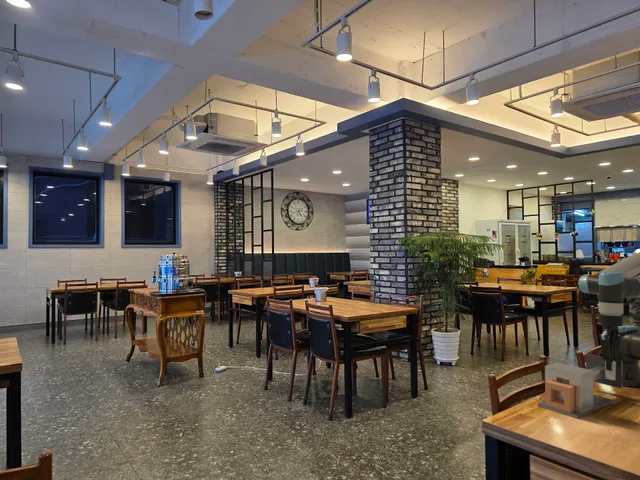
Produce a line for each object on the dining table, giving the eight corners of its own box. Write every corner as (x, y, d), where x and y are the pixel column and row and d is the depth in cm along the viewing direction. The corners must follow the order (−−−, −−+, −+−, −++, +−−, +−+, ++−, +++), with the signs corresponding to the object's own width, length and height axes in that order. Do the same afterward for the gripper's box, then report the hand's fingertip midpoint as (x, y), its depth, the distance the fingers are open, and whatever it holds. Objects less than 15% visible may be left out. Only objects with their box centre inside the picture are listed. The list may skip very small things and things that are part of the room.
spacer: (549, 403, 147) (549, 380, 147) (574, 410, 140) (574, 386, 140) (545, 405, 145) (545, 381, 145) (570, 412, 138) (569, 388, 139)
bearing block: (574, 392, 161) (574, 357, 162) (613, 402, 151) (612, 364, 151) (537, 405, 147) (537, 367, 147) (577, 418, 136) (577, 376, 136)
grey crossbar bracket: (587, 379, 166) (587, 353, 166) (622, 387, 156) (622, 360, 157) (551, 392, 151) (551, 363, 151) (587, 402, 141) (587, 372, 141)
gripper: (607, 311, 162) (607, 374, 161) (591, 313, 155) (590, 378, 154) (630, 314, 156) (629, 379, 155) (614, 316, 148) (613, 384, 148)
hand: (610, 378), depth 154 cm, fingers closed
